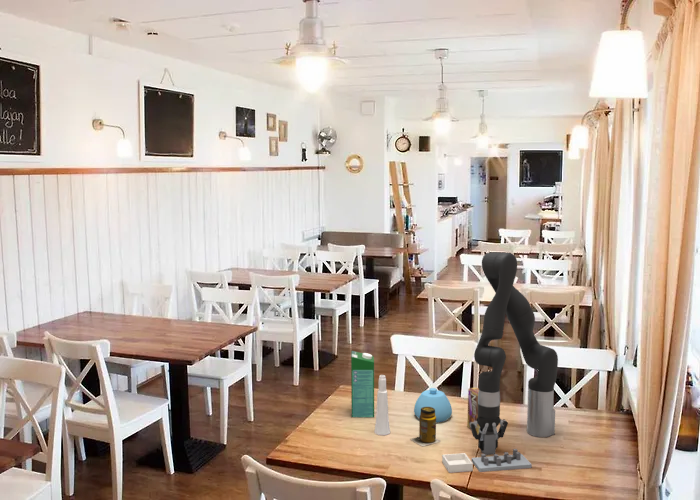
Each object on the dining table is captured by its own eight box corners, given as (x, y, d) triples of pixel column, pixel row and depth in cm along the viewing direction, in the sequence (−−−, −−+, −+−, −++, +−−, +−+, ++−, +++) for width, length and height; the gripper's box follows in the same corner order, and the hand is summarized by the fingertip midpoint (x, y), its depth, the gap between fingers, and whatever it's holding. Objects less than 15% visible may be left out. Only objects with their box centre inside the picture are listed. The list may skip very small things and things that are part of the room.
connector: (491, 449, 237) (491, 428, 236) (495, 454, 233) (495, 432, 232) (480, 450, 236) (480, 428, 235) (484, 454, 232) (484, 433, 231)
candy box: (489, 433, 250) (489, 394, 248) (478, 435, 249) (479, 395, 247) (476, 425, 258) (477, 387, 256) (466, 426, 257) (467, 388, 255)
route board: (521, 457, 230) (522, 447, 229) (531, 467, 222) (531, 457, 222) (471, 461, 227) (471, 451, 227) (479, 471, 219) (479, 461, 219)
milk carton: (374, 417, 266) (374, 356, 263) (351, 417, 267) (351, 356, 263) (373, 409, 275) (373, 350, 272) (351, 409, 276) (351, 350, 272)
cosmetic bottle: (374, 429, 255) (374, 373, 252) (390, 429, 255) (390, 373, 252) (374, 435, 249) (374, 378, 246) (390, 435, 249) (390, 378, 246)
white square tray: (464, 460, 228) (465, 453, 228) (472, 470, 220) (472, 463, 220) (442, 462, 227) (442, 454, 226) (449, 472, 219) (449, 465, 219)
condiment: (440, 441, 244) (441, 409, 242) (422, 447, 239) (423, 414, 237) (427, 434, 250) (428, 403, 248) (410, 440, 245) (410, 408, 243)
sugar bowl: (425, 407, 278) (426, 380, 276) (458, 415, 269) (458, 387, 267) (407, 418, 266) (407, 390, 264) (440, 427, 257) (441, 398, 255)
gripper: (504, 397, 237) (503, 443, 239) (465, 399, 235) (464, 446, 237) (512, 404, 229) (511, 452, 232) (472, 407, 227) (471, 455, 229)
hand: (487, 449), depth 234 cm, fingers closed on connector, 4 cm apart
